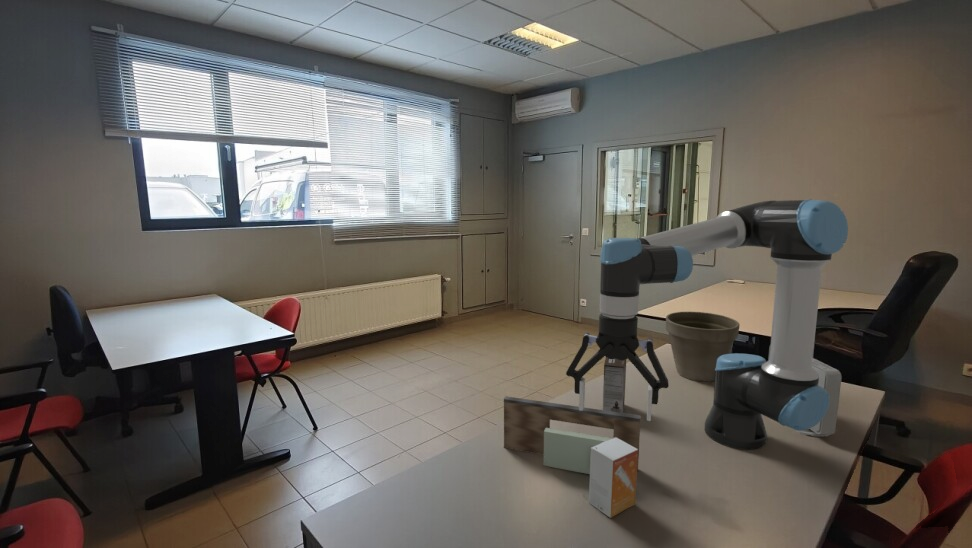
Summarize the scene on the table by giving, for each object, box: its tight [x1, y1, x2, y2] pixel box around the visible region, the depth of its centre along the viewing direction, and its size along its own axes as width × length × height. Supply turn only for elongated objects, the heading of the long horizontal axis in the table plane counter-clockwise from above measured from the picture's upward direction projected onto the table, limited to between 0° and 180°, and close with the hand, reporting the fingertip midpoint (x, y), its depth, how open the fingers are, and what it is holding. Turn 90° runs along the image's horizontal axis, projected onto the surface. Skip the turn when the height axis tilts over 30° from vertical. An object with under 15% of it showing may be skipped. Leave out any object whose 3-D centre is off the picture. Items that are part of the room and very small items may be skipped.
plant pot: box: [665, 311, 740, 382], centre depth 168 cm, size 25×25×22 cm
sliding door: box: [543, 427, 613, 475], centre depth 107 cm, size 16×3×9 cm, turn 70°
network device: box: [767, 346, 843, 437], centre depth 132 cm, size 26×9×20 cm, turn 178°
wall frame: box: [503, 396, 641, 473], centre depth 113 cm, size 34×2×14 cm, turn 70°
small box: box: [588, 437, 639, 519], centre depth 96 cm, size 8×6×13 cm
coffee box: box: [602, 356, 627, 413], centre depth 140 cm, size 9×6×16 cm
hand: (614, 412), depth 94 cm, fingers open, 13 cm apart
